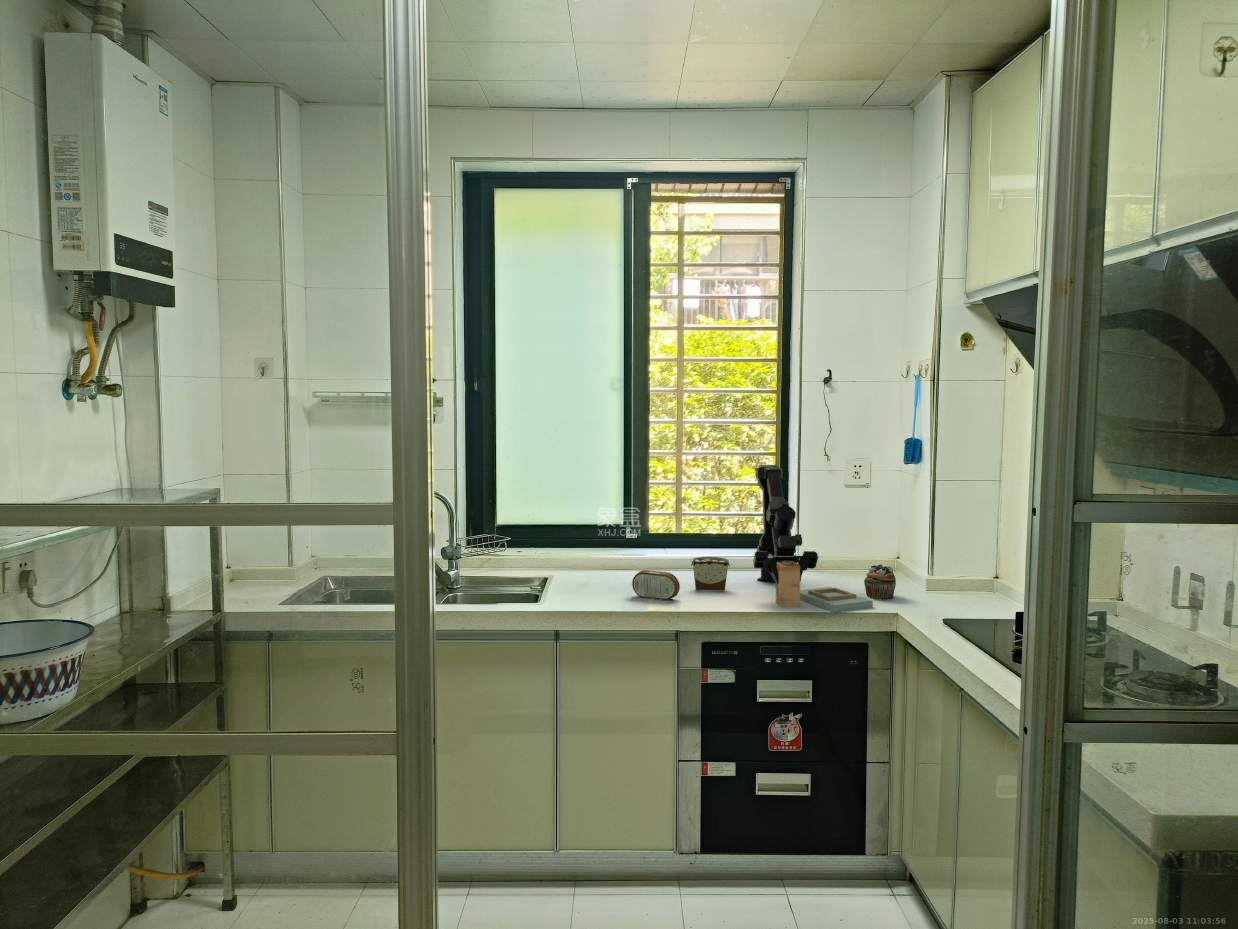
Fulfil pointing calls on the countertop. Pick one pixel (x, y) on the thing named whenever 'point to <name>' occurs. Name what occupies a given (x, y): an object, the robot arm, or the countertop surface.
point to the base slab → (834, 599)
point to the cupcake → (880, 582)
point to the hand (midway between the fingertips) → (788, 583)
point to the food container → (710, 573)
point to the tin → (655, 585)
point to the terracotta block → (788, 584)
